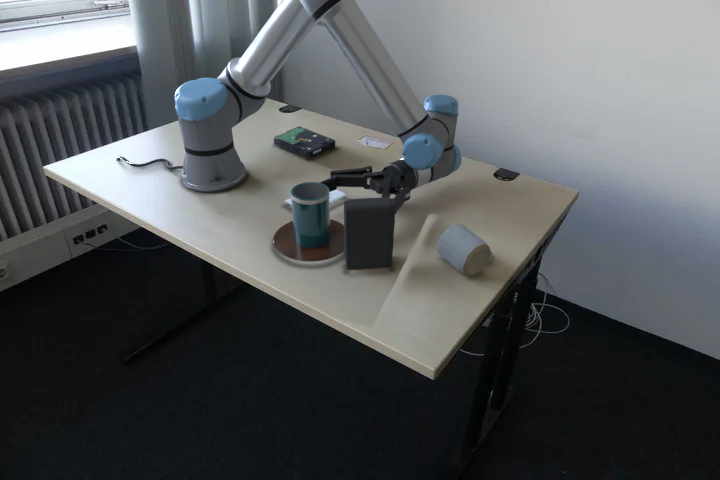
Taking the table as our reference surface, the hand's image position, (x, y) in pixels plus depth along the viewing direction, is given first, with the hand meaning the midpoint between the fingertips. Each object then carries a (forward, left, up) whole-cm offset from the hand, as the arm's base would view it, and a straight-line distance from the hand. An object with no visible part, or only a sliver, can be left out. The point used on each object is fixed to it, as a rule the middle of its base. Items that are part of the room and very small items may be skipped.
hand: (330, 205), depth 105 cm
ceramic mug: (+29, +1, -8) cm, 30 cm away
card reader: (+11, -8, -8) cm, 16 cm away
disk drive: (-24, +38, -8) cm, 46 cm away
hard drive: (-8, +11, -8) cm, 16 cm away
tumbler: (-2, -4, -6) cm, 8 cm away
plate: (-2, -4, -7) cm, 9 cm away
